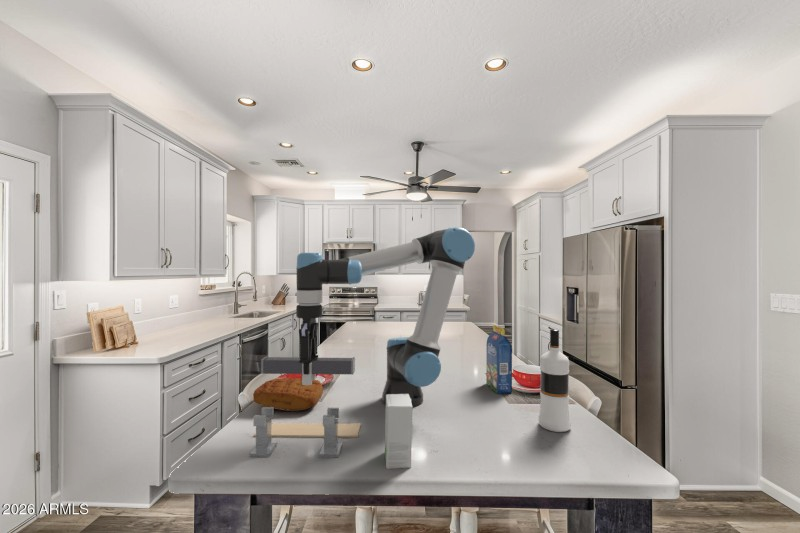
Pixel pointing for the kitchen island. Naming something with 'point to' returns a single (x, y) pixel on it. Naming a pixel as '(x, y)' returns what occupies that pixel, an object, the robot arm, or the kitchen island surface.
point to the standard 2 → (331, 434)
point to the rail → (318, 365)
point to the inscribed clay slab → (288, 394)
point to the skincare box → (398, 431)
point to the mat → (310, 430)
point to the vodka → (554, 388)
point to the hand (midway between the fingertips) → (308, 382)
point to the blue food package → (499, 361)
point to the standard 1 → (263, 433)
